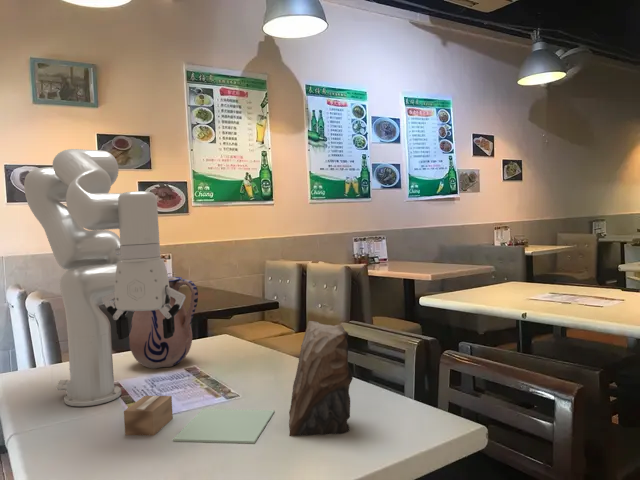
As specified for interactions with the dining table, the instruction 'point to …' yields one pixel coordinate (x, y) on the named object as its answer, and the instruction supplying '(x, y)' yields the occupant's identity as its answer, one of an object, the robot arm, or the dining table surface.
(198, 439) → the mat
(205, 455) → the dining table surface
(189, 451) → the dining table surface
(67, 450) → the dining table surface
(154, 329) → the ceramic pitcher
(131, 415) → the cardboard box
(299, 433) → the brown rock
